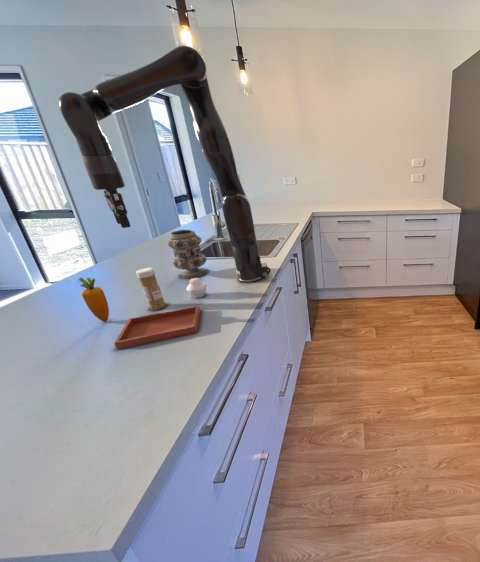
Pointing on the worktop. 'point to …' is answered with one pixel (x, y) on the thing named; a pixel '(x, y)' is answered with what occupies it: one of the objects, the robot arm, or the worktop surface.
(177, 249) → the ornate carved vase
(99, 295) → the carrot
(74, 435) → the worktop surface
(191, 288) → the white rounded lump
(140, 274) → the sprinkles bottle
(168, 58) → the robot arm
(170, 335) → the tray
